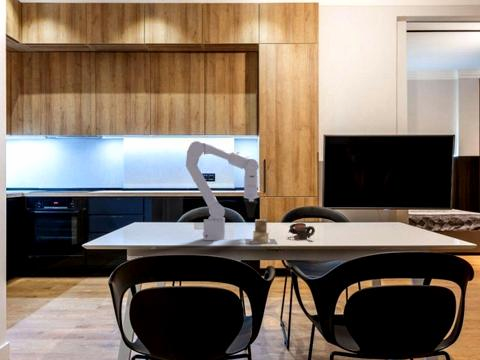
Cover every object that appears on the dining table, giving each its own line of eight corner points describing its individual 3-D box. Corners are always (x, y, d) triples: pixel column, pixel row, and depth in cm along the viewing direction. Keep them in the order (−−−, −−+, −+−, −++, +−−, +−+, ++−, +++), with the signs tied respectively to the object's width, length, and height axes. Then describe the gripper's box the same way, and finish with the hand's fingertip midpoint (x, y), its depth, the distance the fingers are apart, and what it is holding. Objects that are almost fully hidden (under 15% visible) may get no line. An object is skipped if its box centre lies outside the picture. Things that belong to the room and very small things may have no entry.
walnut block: (255, 232, 174) (255, 220, 174) (255, 230, 178) (255, 219, 178) (266, 232, 174) (266, 220, 174) (265, 230, 178) (265, 219, 178)
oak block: (253, 242, 173) (254, 232, 173) (253, 239, 179) (253, 230, 179) (268, 242, 173) (268, 232, 173) (267, 239, 179) (267, 230, 179)
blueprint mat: (245, 245, 169) (245, 243, 169) (244, 240, 182) (244, 238, 182) (277, 245, 169) (277, 244, 169) (274, 240, 182) (274, 238, 182)
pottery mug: (287, 241, 181) (285, 224, 185) (293, 248, 189) (291, 231, 193) (314, 236, 178) (311, 218, 182) (319, 242, 186) (316, 225, 190)
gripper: (260, 186, 177) (260, 218, 178) (258, 185, 192) (258, 214, 192) (244, 186, 177) (244, 218, 178) (243, 185, 192) (243, 214, 192)
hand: (250, 216), depth 185 cm, fingers open, 7 cm apart
